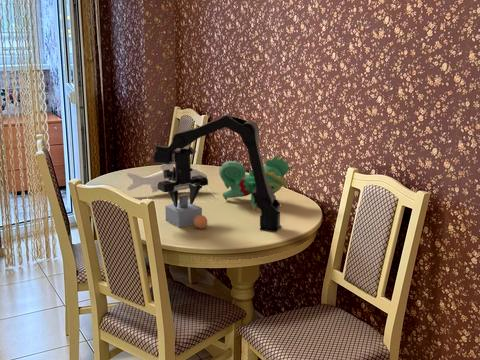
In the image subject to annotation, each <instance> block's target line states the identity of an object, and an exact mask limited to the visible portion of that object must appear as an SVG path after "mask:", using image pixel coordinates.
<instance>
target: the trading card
mask: <svg viewBox="0 0 480 360" xmlns="http://www.w3.org/2000/svg"><path fill="white" fill-rule="evenodd" d="M200 190H201V191H202V190H205V188H201V189H200ZM200 190H199V191H200ZM207 190H208V191H209V193H211V194H213V196H214V197H216V194H214V193H213V192H212V191H211V190H210V189H209V188H207ZM188 191H189V192H190V189H189V190H185V192H186V193H188ZM188 197H190V194H188ZM213 201H217V199H214V200H211V202H213ZM202 202H206V200H204V201H200V203H202ZM194 203H197V201H196V200H194Z"/></svg>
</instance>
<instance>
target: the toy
mask: <svg viewBox="0 0 480 360" xmlns="http://www.w3.org/2000/svg"><path fill="white" fill-rule="evenodd" d="M289 163H290V161H289V160H285V159H284V156H281V157H279V158H278V156H277V155H274V156H273V157H272V158H271V159H270V158H267V159H266V162H265V163H263V166H264V170H265V174H266V179H267V182H268V184H269V186H270V187H271V189H272V191H273V194H274V196H275V199H276V198H277V197H276V195H275V194H276V193H277V192H279V191H280V190H281V189H282V187H286V186H287V187H288V186H290V184H289V183H288V181H287V180H285V179H283V177H285V175H287V173H288V172H289V171H290V170H291V169H292V168H293V167H292V166H291V165H289ZM218 171H219V173H218V174H219V176H220V179H221V180H222V182H223V184H224V186H225V188H226V189H227V191H224V192H222V197H223V198H224V200H225V201H227V200H228V199H233V198H234V199H235V198H243V197H247V196H249V195H250V200H251V201H250V202H251V204H250V205H251V208H252V210H253V211H255V210H256V207H257V205H256V204H254V202H255V200H254V197H253V194H252V193H253V191H254V190H255V189H256V183H255V179H254V175H253V171H252V170H251V169H250V168H249V171H248V173H249V174H246V173H247V170H246V168H245V166H244V165H243V164H242V163H240V162H238V161H236V160H235V161H233V160H228V161H226V162H224V163H223V164H221V166H220V167H219V169H218ZM276 200H277V199H276Z"/></svg>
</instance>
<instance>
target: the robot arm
mask: <svg viewBox="0 0 480 360" xmlns="http://www.w3.org/2000/svg"><path fill="white" fill-rule="evenodd" d="M224 128H228V129H229V130H231V131H232V132H234V133H236V134H237V135H239V136H240V138H241V141H242V143H243V144H244V146H245V148H246V149H247V153H248V158H249V162H250V165H251V171H253V175H254V179H255V183H256V189H255V190H254V191H253V193H252V194H253V197H254V200H255V202H254V204H256V207H257V208H258V209H260V212H261V214H260V216H259V230H262V231H267V232H268V231H270V232H275V233H276V232H278V231H279V229H281V227H282V225H281V211H279V210H280V207H281V203H280V202H279V201H278V200H277V199H275V196H276V195H275V194H273V191H272V189H271V187H270V186H269V184H268V182H267V179H266V174H265V170H264V166H263V164H264V162H263V158H262V154H261V153H262V152H261V149H260V145H259V144H260V129H259V125H258V123H257V122H256V121H253V120H246V119H244V118H240V117H236V116H233V115H232V114H229V113H228V114H227V113H226V114H224V115H223V116H221V117H219V118H217V119H215V120H212V121H210V122H207V123H205V124H202V125H199V126H198V127H195V128H188V129H183V130H180V131H179V132H177V133H175V134H174V135H173V137H172V142H171V144H170V145H156V146H155V151H154V155H153V162H154V163H155V164H156V165H157V164H159V165H162V164H173V162H174V167H173V171H170V170H169V169H168V170H164V172H163V175H164V178H165V179H166V178H168V180H169V181H161V182H159V183H158V189H159V190H158V191H161V192H163V193H168V195H169V196H170V198H171V201H172V203H173V204H174V206H175V207H177V204H178V203H179V202H178V201H179V191H177V190H176V187H180V186H186V185H188V186H189V190H190V191H189V195H190V196H189V202H190V204H194V203H195V201H196V200H195V199H196V198H197V196H198V194H199V192H200V189H203V187H204V186H208V185H209V180H208V178H206V177H204V176H201V175H197V176H193V177H192V179H191V171H192V168H193V167H191V162H192V161H191V155H195V153H197V150H195V149H194V148H193V147H192V146H190V147H189V148H186V147H187V146H189V145H190V144H192V143H194V142H196V141H197V140H198V139H200V138H202V137H205V136H207V135H209V134H212V133H215V132H217V131H219V130H221V129H224ZM178 149H179V150H178ZM170 180H172V181H175V182H173V183H172V182H170ZM274 195H275V196H274ZM194 200H195V201H194Z"/></svg>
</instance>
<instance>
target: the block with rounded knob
mask: <svg viewBox="0 0 480 360" xmlns="http://www.w3.org/2000/svg"><path fill="white" fill-rule="evenodd" d="M188 199H189V194H178V201H179V202H178V204H177V207H175V206H174V204H168V205H167V204H166V205H165V221H167V222H168V221H169V222H168V223H170V224H172V225H174V226H175V225H176V226H175V227H177V226H178V227H177V228H183V227H187V225H188V226H191V225H194V218H195V217H196V216H198V215H203V207H201V206H199V205H196V204H195V203H193V204H190V200H188ZM182 226H183V227H182Z"/></svg>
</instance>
